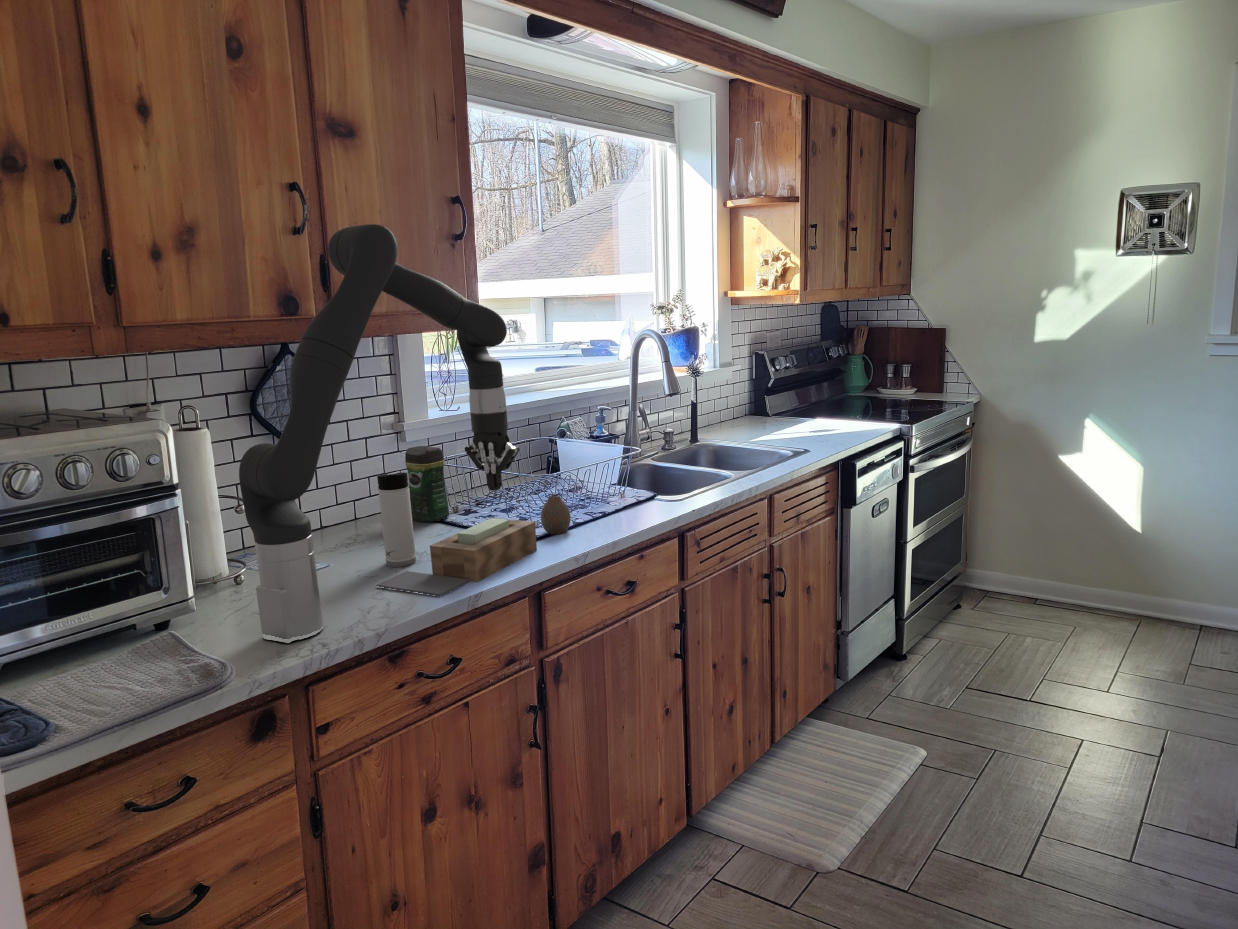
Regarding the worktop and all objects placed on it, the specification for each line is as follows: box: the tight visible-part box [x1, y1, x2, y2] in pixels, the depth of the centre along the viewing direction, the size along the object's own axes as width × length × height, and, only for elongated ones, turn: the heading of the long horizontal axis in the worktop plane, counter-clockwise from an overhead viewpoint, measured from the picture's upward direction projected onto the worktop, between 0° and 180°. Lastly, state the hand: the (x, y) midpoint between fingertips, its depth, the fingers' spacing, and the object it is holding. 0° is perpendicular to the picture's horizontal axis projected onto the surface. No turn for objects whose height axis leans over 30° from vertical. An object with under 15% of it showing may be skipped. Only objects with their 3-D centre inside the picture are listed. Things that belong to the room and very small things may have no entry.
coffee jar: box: [404, 445, 450, 523], centre depth 231 cm, size 10×8×19 cm
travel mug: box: [376, 472, 417, 568], centre depth 194 cm, size 6×7×20 cm
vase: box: [540, 494, 571, 535], centre depth 213 cm, size 7×7×9 cm
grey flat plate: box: [375, 570, 470, 597], centre depth 181 cm, size 9×16×1 cm, turn 62°
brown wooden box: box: [429, 517, 538, 583], centre depth 193 cm, size 22×11×6 cm, turn 152°
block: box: [456, 517, 510, 545], centre depth 192 cm, size 12×4×4 cm, turn 152°
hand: (495, 489), depth 195 cm, fingers closed
